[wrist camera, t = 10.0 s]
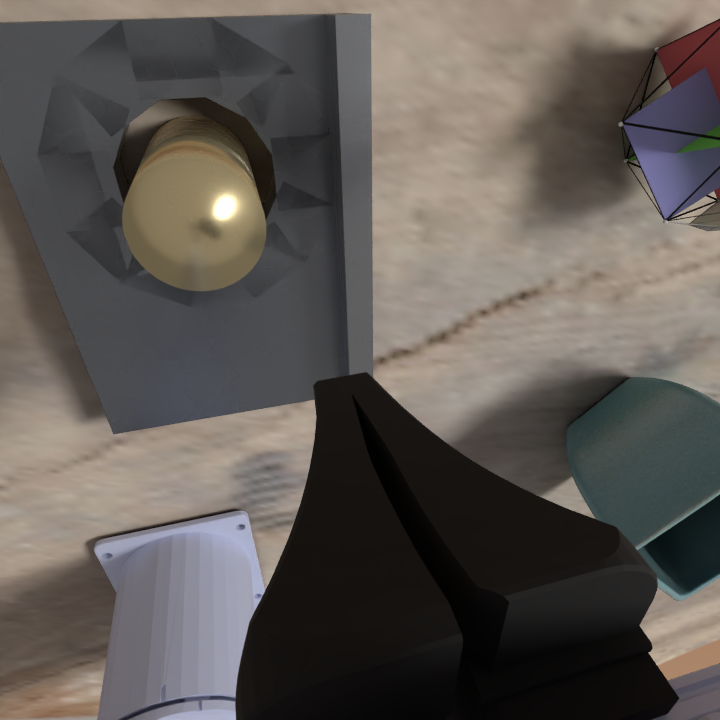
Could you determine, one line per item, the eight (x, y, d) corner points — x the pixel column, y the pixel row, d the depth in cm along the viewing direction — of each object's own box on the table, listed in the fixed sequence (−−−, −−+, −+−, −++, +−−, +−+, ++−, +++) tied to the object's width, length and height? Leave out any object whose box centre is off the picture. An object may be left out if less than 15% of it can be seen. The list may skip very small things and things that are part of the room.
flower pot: (522, 433, 31) (619, 562, 24) (644, 334, 28) (792, 443, 21) (585, 485, 36) (680, 605, 28) (693, 403, 33) (826, 511, 26)
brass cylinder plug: (256, 215, 19) (273, 283, 15) (159, 225, 19) (142, 298, 14) (242, 112, 17) (257, 152, 13) (132, 119, 17) (103, 163, 12)
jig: (355, 371, 25) (373, 412, 22) (118, 410, 23) (107, 460, 20) (345, 13, 16) (370, 13, 14) (-31, 23, 14) (-82, 26, 12)
